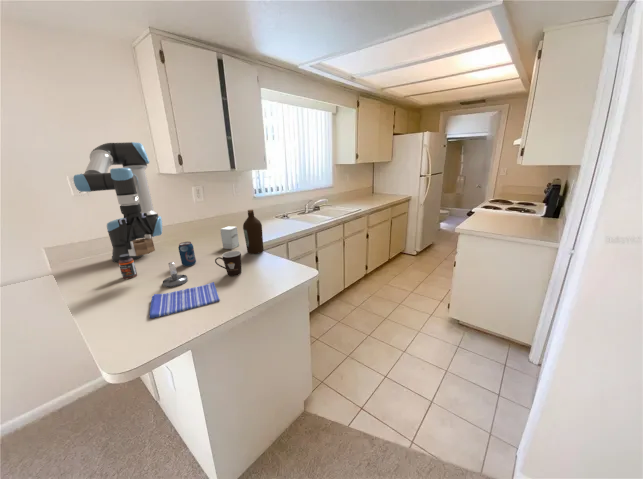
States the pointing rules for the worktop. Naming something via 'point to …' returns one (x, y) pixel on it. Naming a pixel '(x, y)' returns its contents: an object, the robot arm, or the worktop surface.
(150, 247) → the walnut ring
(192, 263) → the soda can
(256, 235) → the olive oil
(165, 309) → the dish towel
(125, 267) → the supplement bottle
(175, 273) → the silver peg stand
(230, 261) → the coffee mug
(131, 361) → the worktop surface
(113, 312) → the worktop surface
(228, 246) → the supplement box
